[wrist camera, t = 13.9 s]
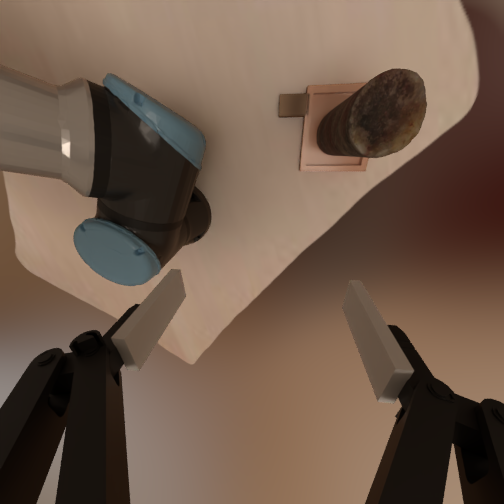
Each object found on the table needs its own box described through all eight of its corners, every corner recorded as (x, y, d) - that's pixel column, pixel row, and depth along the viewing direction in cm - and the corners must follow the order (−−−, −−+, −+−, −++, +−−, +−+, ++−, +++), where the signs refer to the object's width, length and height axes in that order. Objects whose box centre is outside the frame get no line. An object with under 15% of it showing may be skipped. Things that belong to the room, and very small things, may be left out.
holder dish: (299, 170, 40) (299, 171, 39) (306, 88, 34) (308, 85, 32) (361, 170, 39) (365, 171, 37) (381, 85, 33) (386, 81, 31)
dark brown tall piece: (320, 105, 34) (362, 63, 17) (364, 107, 34) (454, 66, 16) (311, 154, 38) (339, 161, 21) (351, 156, 38) (413, 166, 20)
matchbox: (279, 117, 37) (278, 116, 35) (279, 97, 35) (279, 94, 33) (306, 116, 36) (308, 115, 34) (308, 95, 35) (310, 93, 33)
